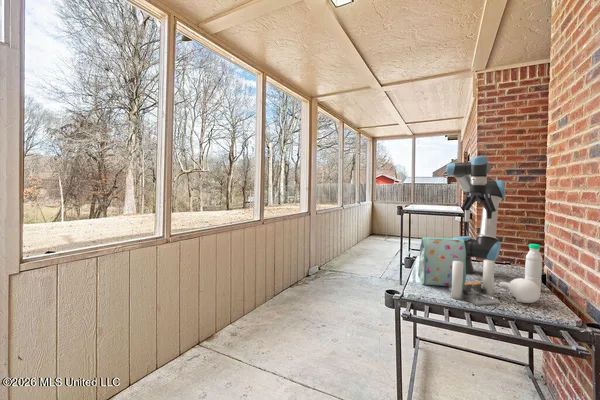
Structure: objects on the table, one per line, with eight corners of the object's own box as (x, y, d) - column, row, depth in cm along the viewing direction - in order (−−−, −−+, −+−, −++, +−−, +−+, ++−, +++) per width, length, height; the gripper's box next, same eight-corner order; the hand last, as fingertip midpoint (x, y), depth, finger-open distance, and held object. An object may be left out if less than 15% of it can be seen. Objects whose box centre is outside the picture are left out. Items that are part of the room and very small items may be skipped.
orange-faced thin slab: (463, 291, 137) (464, 283, 137) (478, 290, 138) (479, 282, 138) (465, 292, 135) (466, 284, 135) (481, 291, 137) (481, 283, 137)
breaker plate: (448, 291, 145) (449, 283, 145) (468, 289, 147) (468, 282, 147) (476, 305, 127) (476, 296, 127) (498, 303, 129) (498, 295, 129)
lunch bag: (458, 281, 162) (460, 236, 161) (467, 290, 146) (469, 240, 145) (416, 277, 167) (418, 233, 167) (421, 286, 152) (423, 238, 151)
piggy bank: (541, 311, 125) (520, 301, 140) (550, 287, 125) (528, 279, 140) (513, 301, 127) (495, 292, 142) (521, 277, 127) (503, 270, 142)
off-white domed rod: (478, 294, 141) (479, 259, 140) (487, 293, 142) (488, 259, 141) (487, 298, 135) (489, 262, 135) (496, 297, 136) (498, 262, 136)
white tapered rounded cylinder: (447, 296, 137) (449, 260, 137) (457, 295, 138) (458, 260, 138) (455, 300, 132) (457, 263, 132) (465, 299, 133) (467, 263, 133)
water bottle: (534, 292, 145) (537, 245, 145) (520, 287, 152) (523, 243, 152) (544, 291, 147) (546, 245, 147) (530, 286, 154) (532, 242, 153)
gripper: (455, 184, 161) (454, 220, 162) (492, 184, 137) (491, 226, 138) (466, 184, 163) (465, 220, 164) (505, 184, 138) (503, 226, 139)
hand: (476, 223), depth 151 cm, fingers open, 13 cm apart
